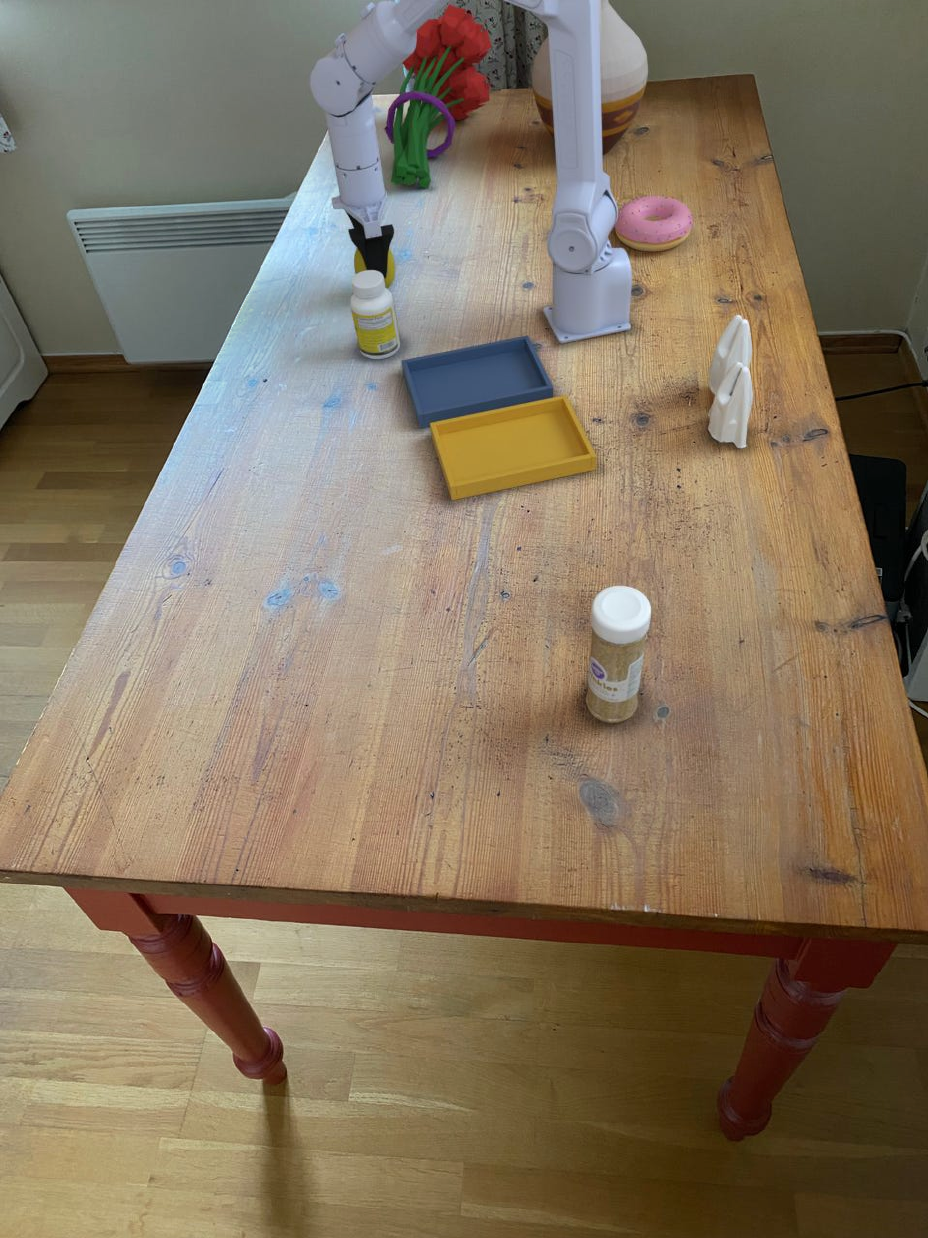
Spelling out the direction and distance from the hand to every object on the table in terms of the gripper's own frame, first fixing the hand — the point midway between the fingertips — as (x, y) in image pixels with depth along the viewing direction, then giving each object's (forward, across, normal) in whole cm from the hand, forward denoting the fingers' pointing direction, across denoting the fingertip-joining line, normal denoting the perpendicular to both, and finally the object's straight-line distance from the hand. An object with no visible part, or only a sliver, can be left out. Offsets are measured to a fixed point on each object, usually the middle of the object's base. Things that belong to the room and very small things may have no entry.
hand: (373, 263), depth 120 cm
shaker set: (+4, +39, +34) cm, 52 cm away
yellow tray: (+4, +38, +9) cm, 39 cm away
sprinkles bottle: (+4, +73, +9) cm, 74 cm away
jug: (+5, -31, +40) cm, 51 cm away
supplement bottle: (+5, +13, -2) cm, 14 cm away
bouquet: (+5, -40, +16) cm, 43 cm away
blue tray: (+4, +25, +8) cm, 27 cm away
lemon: (+5, 0, 0) cm, 5 cm away
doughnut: (+4, -1, +40) cm, 40 cm away
